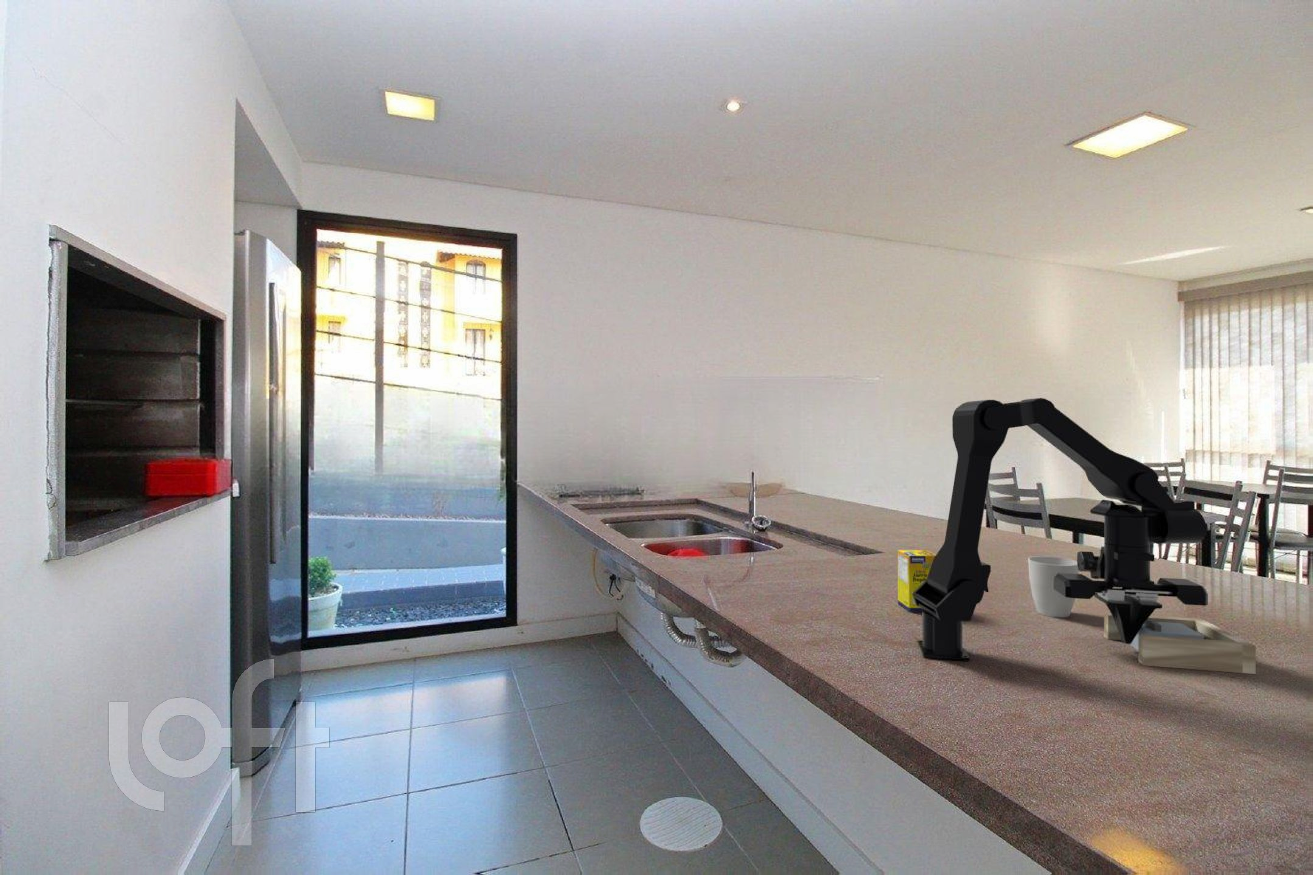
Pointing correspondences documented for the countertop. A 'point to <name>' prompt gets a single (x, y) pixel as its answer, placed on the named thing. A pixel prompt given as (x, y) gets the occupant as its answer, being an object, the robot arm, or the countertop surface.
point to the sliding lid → (1165, 631)
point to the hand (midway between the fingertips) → (1126, 642)
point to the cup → (1050, 584)
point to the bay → (1191, 647)
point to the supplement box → (912, 575)
